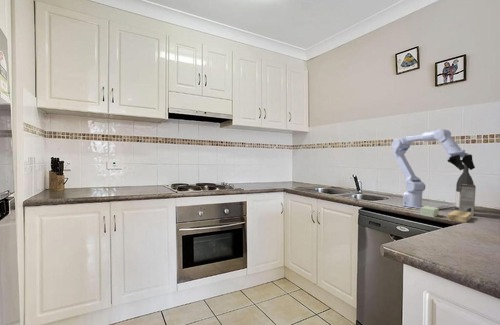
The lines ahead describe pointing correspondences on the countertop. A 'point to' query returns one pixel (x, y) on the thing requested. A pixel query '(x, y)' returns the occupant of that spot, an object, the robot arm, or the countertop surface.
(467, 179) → the wine bottle
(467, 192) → the coffee box
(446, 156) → the robot arm
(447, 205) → the countertop surface
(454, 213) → the bamboo board
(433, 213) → the sage block
